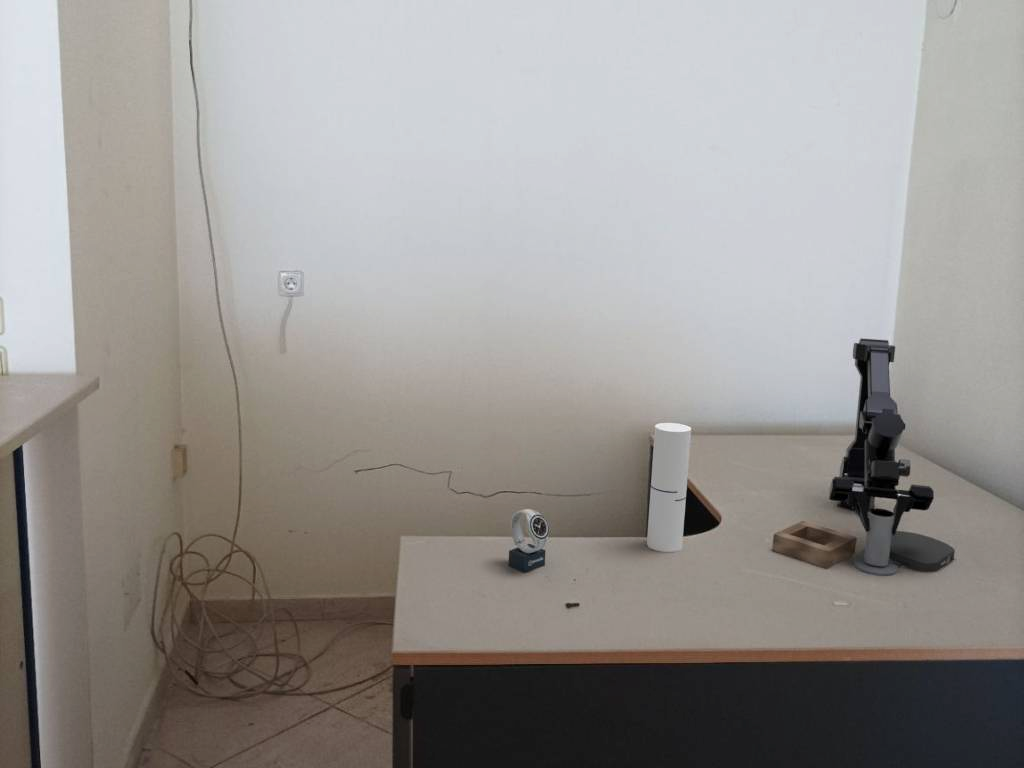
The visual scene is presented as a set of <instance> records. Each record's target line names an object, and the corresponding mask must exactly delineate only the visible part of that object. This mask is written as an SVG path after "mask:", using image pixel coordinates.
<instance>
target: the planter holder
mask: <svg viewBox="0 0 1024 768" xmlns="http://www.w3.org/2000/svg"><path fill="white" fill-rule="evenodd" d="M772 539H773V540H772V549H771V550H772V551H773V550H775V551H774V552H776V551H778V552H777V553H779V552H781V553H780V554H782V553H783V555H785V554H786V555H785V556H788V555H789V557H791V556H792V558H794V557H795V558H794V559H797V558H798V560H800V559H801V560H800V561H804V562H807V563H810V564H813V565H816V566H819V567H821V568H825V569H829V568H830V567H832V566H834V565H836V564H838V563H840V562H841V561H843V560H845V559H847V558H848V557H851V556H853V555H854V554H856V549H857V548H856V547H857V542H858V541H857V539H858V537H857V536H856V535H851V534H849V533H845V532H842V531H839V530H835V529H832V528H828V527H826V526H822V525H819V524H815V523H812V522H808V521H806V520H801V521H799V522H797V523H795V524H792V525H791V526H788V527H787V528H783V529H781V530H779V531H777V532H775V533H774V534H773V537H772Z"/></svg>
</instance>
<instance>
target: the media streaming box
mask: <svg viewBox="0 0 1024 768" xmlns="http://www.w3.org/2000/svg"><path fill="white" fill-rule="evenodd" d="M955 551H956V549H955V548H954V547H952V546H951V545H950V544H948V543H946V542H944V541H941V540H939V539H937V538H936V539H935V538H934V537H930V536H927V535H923V534H920V533H916V532H909V531H902V530H896V533H895V535H892V538H891V546H890V554H889V561H890V562H892V563H894V564H895V565H896V566H899V567H903V568H906V569H909V570H912V571H917V572H921V573H923V572H924V573H933V572H934V573H935V572H938V571H940V570H942V569H944V568H945V567H946V566H948V565H949V564H951V563H952V562H953V561H954V560H955V559H954V558H955Z"/></svg>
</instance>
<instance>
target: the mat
mask: <svg viewBox="0 0 1024 768" xmlns="http://www.w3.org/2000/svg"><path fill="white" fill-rule="evenodd" d="M853 566H854V567H855V568H856V569H857V570H859V571H861V572H864V573H866V574H870V575H874V576H883V577H884V576H894V575H896V574H897V573H898V565H896V564H894V563H892V562H890V561H889V562H888V565H886V566H874V565H871V564H868V563H866V562H865V561H864V555H863V556H858V557H856V558H854V560H853Z"/></svg>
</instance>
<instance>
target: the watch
mask: <svg viewBox="0 0 1024 768" xmlns="http://www.w3.org/2000/svg"><path fill="white" fill-rule="evenodd" d="M523 514H524V519H525V523H526V524H525V529H526V533H527V534H528V536H529V537H530V538H531V540H532V542H533V543H528V544H527V543H526V541H525V540H526V539H525V536H524V533H523V530H522V525H521V524H520V519H521V515H523ZM509 529H510V534H511V537H512V540H513V542H514V545H515V546H517V547H515V548H512V549H509V550H508V567H510V568H512V569H515V570H517V571H519V572H521V573H523V574H525V573H528V572H532V571H534V570H536V569H539V568H542V567H545V566H546V549H544V546H545V545H546V543H547V541H548V536H549V534H550V523H549V522H548V520H547V519H546V517H545V516H544V515H543V514H542V515H541V514H540V513H539V512H538V511H536V510H534V509H532V508H525V509H522V510H518V511H516V512H515V513H513V515H512V516H511V520H510V526H509Z"/></svg>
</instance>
